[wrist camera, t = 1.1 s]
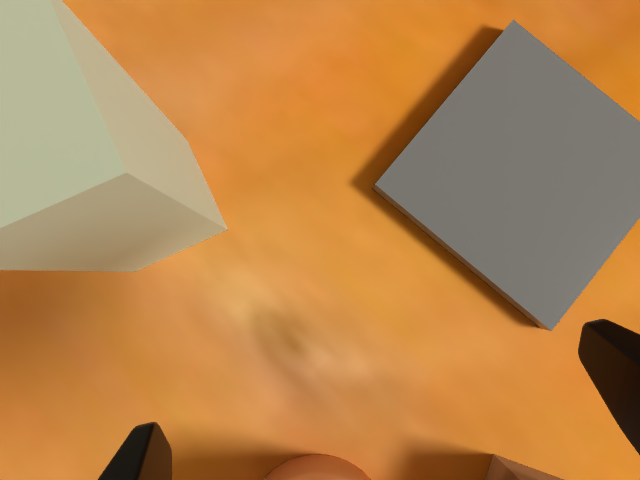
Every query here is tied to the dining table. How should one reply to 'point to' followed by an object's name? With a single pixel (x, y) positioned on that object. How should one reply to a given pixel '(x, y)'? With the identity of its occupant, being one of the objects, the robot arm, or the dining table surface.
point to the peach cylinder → (317, 469)
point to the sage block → (87, 155)
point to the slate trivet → (523, 176)
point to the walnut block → (514, 471)
